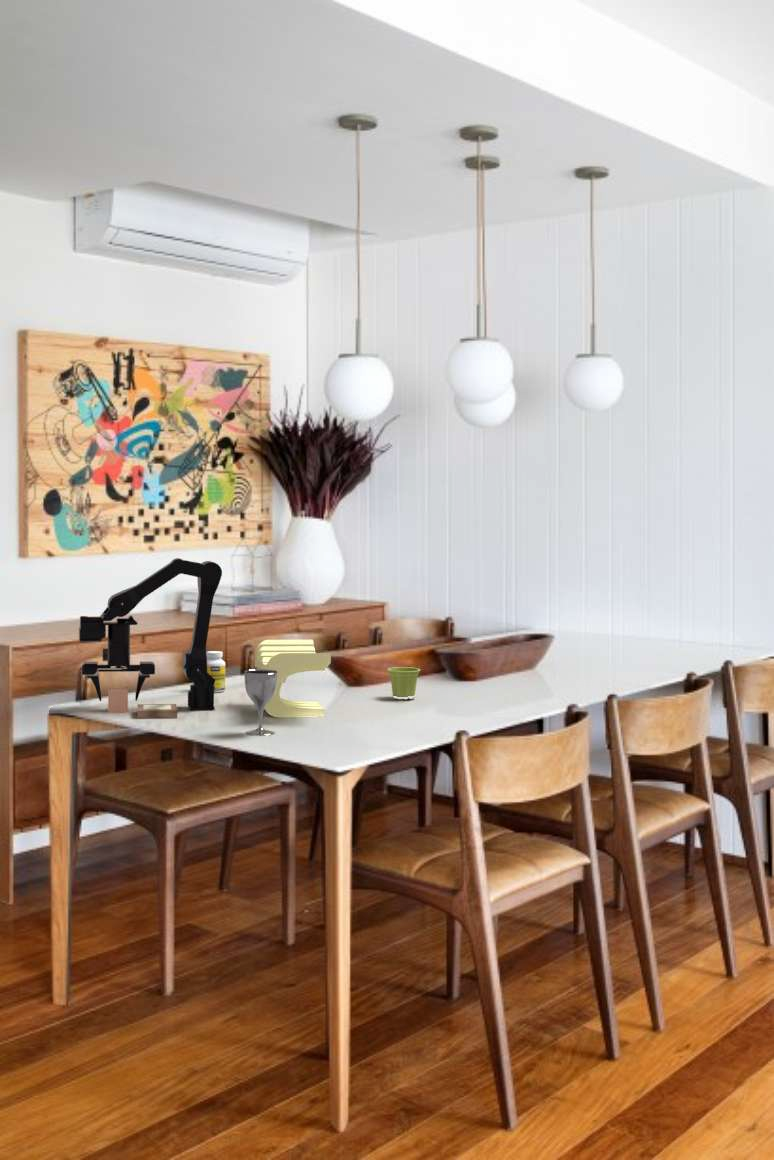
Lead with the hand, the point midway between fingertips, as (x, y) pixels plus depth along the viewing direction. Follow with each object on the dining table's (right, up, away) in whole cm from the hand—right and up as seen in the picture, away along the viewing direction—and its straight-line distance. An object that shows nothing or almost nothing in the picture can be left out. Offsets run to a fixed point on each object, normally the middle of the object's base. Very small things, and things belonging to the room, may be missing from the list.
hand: (118, 700), depth 341 cm
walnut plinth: (+11, -3, -5) cm, 13 cm away
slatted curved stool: (+45, -4, +3) cm, 45 cm away
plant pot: (+76, -3, +30) cm, 81 cm away
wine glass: (+40, -6, -27) cm, 49 cm away
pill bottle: (+20, -1, +37) cm, 42 cm away
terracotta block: (0, -3, 0) cm, 3 cm away
